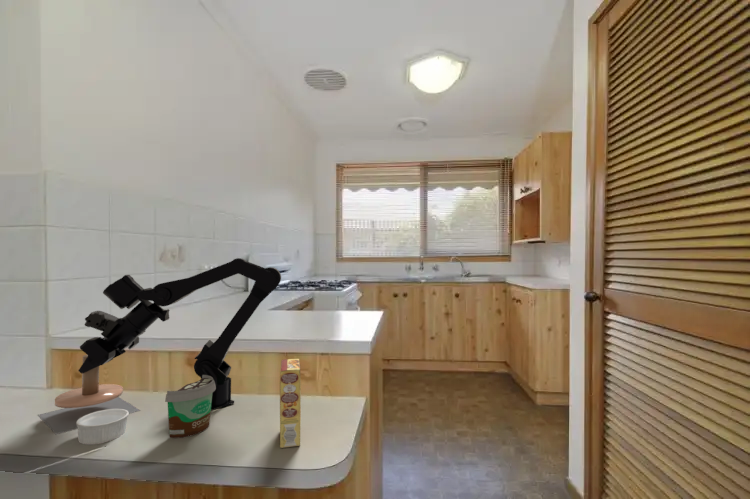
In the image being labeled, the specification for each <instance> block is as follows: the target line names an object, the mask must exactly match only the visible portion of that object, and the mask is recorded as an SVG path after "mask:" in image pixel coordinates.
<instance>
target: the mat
mask: <svg viewBox="0 0 750 499" xmlns="http://www.w3.org/2000/svg"><path fill="white" fill-rule="evenodd" d="M108 409H124V410H127V411H128V412H129V414H128V415H130V414H135V413H137V412H140V411H141V410H140V409H139V408H137V407H136V406H134V405H133V404H131V403H129V402H127V401H126V400H124V399H123V398H121V397H120V396H119V397H117V398H115V399H113V400H110V401H107V402H104V403H100V404H96V405H91V406H86V407H78V408H59V409H56V410H55V409H54V410H52V411H48V412H43V413H40V414H37V416H38V417H39V418H40V419H41V420H42V422H44V424H45V425H46V426H47V427H48V428H49V429H50V430H51V431H52V432H53V433H54V434H55V435H59V434H64V433H66V432H70V431H73V430H78V427H77V425H76V422H77V420H78V419H80V418H81V417H83V416H85V415H87V414H90V413H93V412H97V411H102V410H108Z"/></svg>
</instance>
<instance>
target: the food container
mask: <svg viewBox="0 0 750 499" xmlns="http://www.w3.org/2000/svg"><path fill="white" fill-rule="evenodd" d="M215 389H216V385H215V381H214V380H213V377H211V376H208V375H202V379H201V378H200V379H199V380H197V381H195V382H191V383H187V384H185V385H184V386H181V388H180V389H178V390H167V392H166V394H165V401H164V402H165V403H167V416H168V434H169V438H170V439H171V438H172V439H179V438H182V439H183V438H187V437H191V436H192V437H193V436H195V435H199V434H200V433H202V432H205V431H206V430H207V429H208V428H209V427H210V423H211V422H210V421H211V412H212V410H211V403H212V393H213V392H214V391H215Z"/></svg>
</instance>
